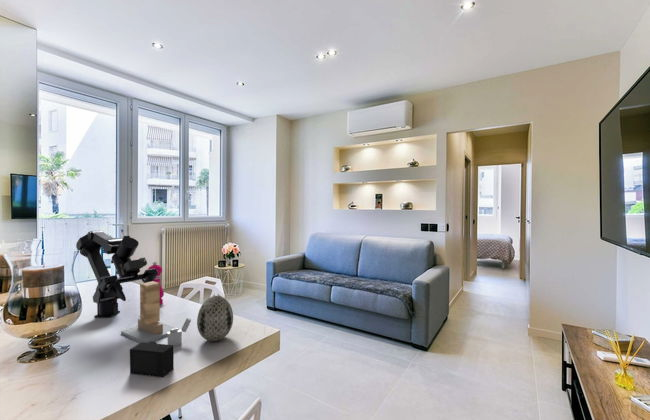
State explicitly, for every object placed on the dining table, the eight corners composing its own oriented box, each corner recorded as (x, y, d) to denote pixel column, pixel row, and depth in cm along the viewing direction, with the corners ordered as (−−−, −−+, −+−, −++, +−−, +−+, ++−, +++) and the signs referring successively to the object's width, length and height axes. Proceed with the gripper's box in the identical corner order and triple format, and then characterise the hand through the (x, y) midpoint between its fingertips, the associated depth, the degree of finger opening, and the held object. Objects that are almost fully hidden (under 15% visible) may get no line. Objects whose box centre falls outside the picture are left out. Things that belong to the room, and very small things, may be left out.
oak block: (140, 322, 106) (139, 283, 106) (153, 318, 110) (152, 281, 110) (146, 325, 104) (146, 285, 104) (159, 321, 108) (159, 282, 108)
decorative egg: (189, 344, 98) (188, 299, 98) (214, 330, 109) (214, 290, 109) (217, 350, 94) (216, 303, 94) (240, 335, 105) (240, 293, 105)
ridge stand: (121, 333, 106) (121, 322, 106) (154, 322, 116) (154, 312, 116) (144, 344, 98) (144, 332, 98) (178, 331, 108) (178, 320, 108)
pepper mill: (167, 301, 142) (167, 260, 142) (157, 306, 135) (156, 263, 134) (153, 301, 142) (152, 260, 142) (142, 306, 135) (142, 263, 135)
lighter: (167, 347, 96) (167, 322, 96) (167, 344, 98) (167, 320, 98) (191, 342, 100) (191, 318, 100) (190, 340, 101) (190, 316, 101)
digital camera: (177, 367, 85) (176, 342, 84) (163, 377, 79) (163, 352, 79) (145, 363, 86) (145, 339, 86) (130, 374, 81) (129, 348, 81)
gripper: (102, 255, 106) (117, 290, 100) (155, 248, 122) (171, 278, 116) (93, 274, 110) (107, 309, 104) (145, 265, 126) (160, 295, 120)
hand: (138, 297), depth 111 cm, fingers open, 9 cm apart
